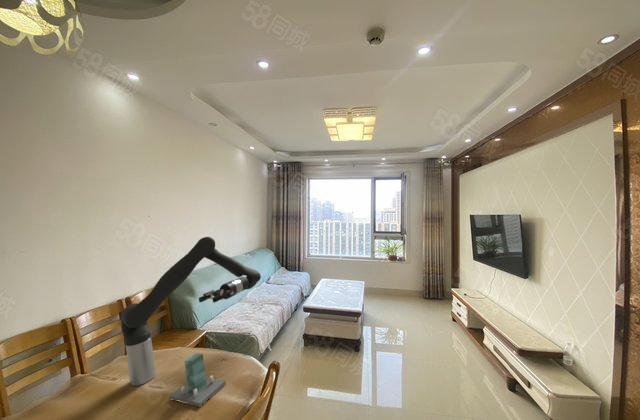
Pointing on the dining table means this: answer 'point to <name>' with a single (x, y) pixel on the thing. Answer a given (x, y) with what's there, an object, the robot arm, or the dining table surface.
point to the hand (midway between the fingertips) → (206, 300)
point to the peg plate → (202, 395)
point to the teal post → (195, 372)
